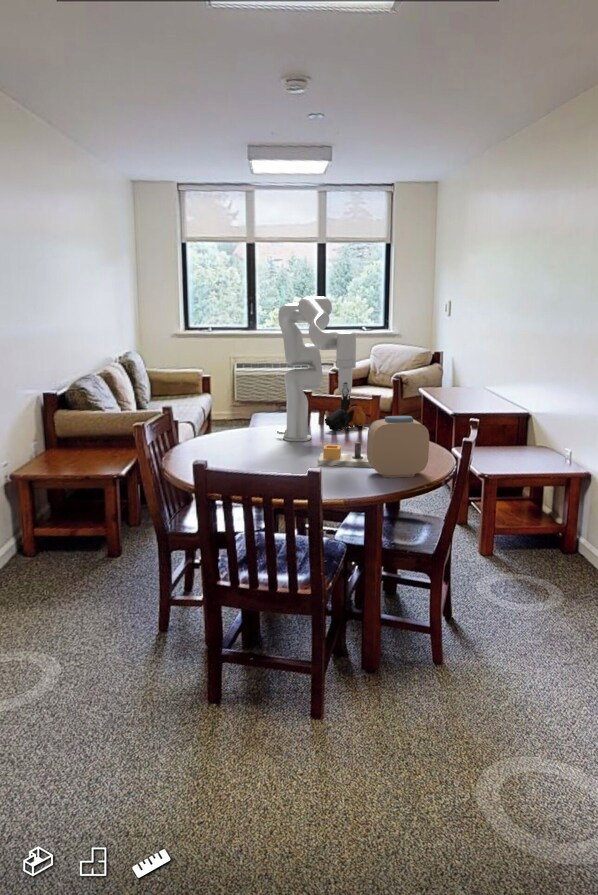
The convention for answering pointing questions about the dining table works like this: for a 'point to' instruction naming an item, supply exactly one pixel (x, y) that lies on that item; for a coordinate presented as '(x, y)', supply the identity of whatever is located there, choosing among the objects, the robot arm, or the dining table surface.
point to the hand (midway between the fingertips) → (345, 407)
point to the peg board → (348, 459)
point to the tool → (346, 418)
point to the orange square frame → (332, 452)
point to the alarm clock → (398, 446)
